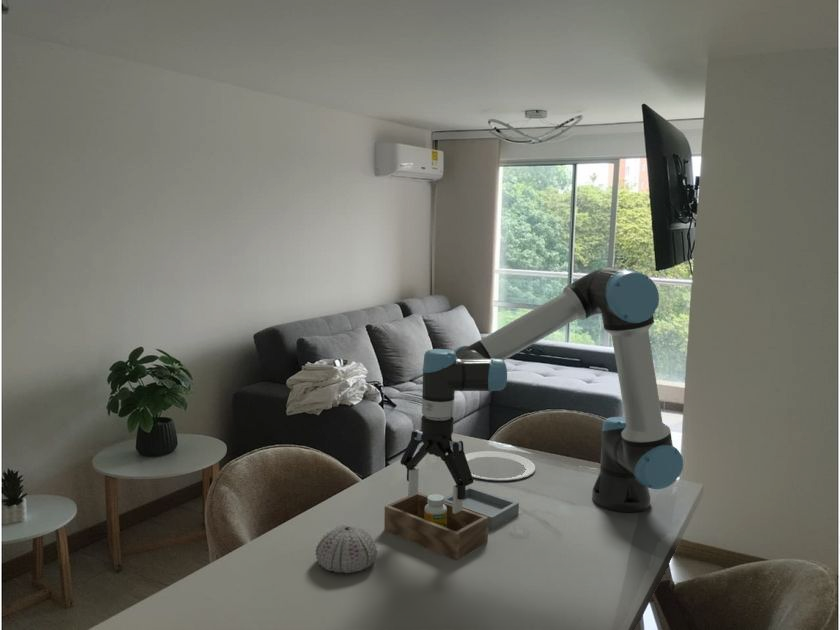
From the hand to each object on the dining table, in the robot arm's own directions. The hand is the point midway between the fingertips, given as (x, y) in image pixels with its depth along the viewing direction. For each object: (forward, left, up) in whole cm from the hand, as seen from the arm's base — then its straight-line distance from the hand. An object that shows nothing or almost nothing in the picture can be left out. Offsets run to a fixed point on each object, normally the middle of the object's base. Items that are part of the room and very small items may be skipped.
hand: (434, 503), depth 160 cm
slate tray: (0, -18, -8) cm, 20 cm away
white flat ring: (+16, -48, -9) cm, 51 cm away
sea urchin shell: (+6, +23, -9) cm, 25 cm away
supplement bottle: (0, 0, -8) cm, 8 cm away
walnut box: (0, 0, -8) cm, 8 cm away
